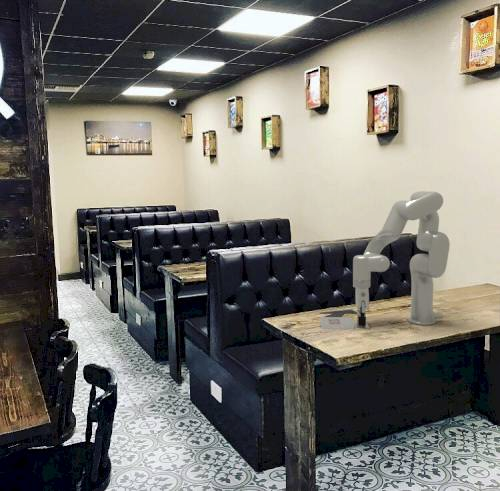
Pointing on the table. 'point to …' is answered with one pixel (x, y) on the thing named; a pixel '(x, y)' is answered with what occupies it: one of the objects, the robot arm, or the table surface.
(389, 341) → the table surface
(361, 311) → the peg
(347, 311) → the picture frame
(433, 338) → the table surface
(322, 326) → the block
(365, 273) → the robot arm
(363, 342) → the table surface
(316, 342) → the table surface
